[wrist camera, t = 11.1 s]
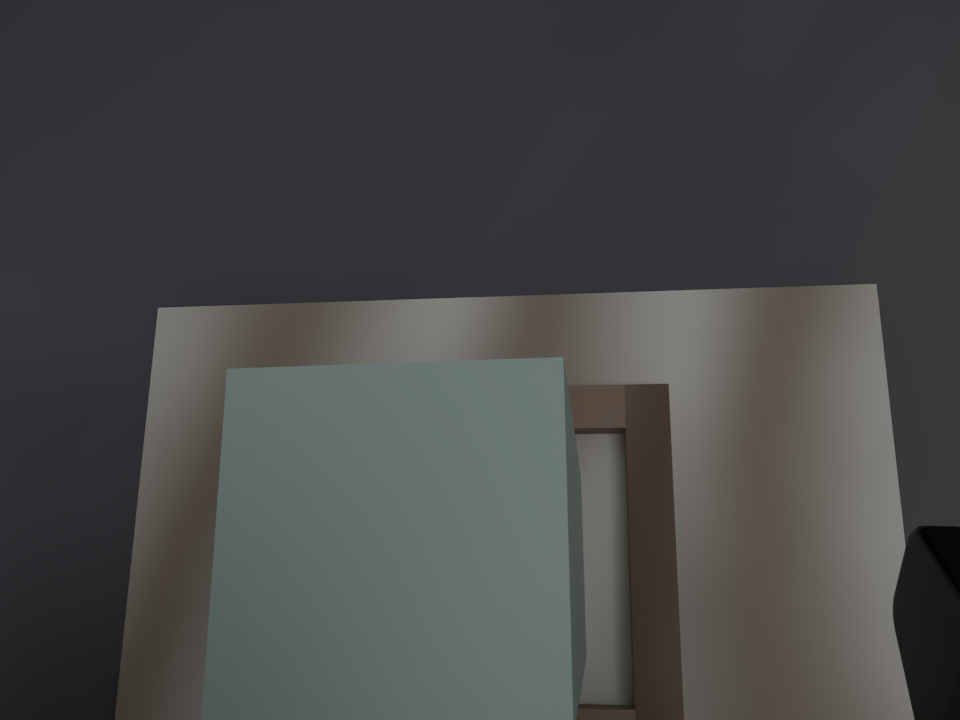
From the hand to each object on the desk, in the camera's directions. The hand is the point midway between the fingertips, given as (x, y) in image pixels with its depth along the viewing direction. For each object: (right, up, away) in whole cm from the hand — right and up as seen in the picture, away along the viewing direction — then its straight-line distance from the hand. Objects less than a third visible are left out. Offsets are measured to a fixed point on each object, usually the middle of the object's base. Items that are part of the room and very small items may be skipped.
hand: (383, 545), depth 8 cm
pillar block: (+1, -3, +12) cm, 13 cm away
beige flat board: (+1, -3, +13) cm, 14 cm away
